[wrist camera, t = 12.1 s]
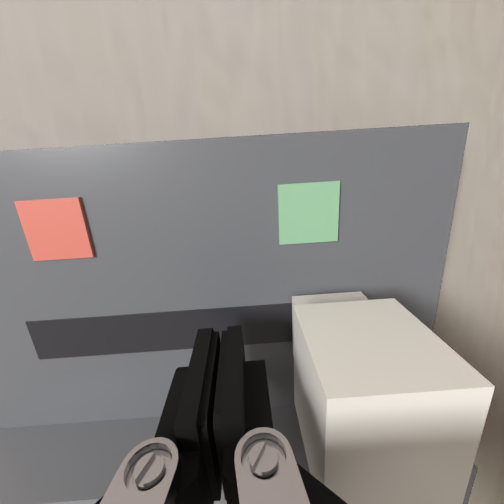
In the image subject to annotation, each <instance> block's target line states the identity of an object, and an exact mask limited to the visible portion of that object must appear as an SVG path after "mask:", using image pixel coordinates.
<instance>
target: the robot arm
mask: <svg viewBox="0 0 504 504" xmlns="http://www.w3.org/2000/svg"><path fill="white" fill-rule="evenodd" d="M222 485H223V491H224V497H225V500H227V504H347V503H346V502H345V501H344V500H342V499H341V498H340V497H339V496H337V495H336V494H335V493H334V492H332V491H331V490H330V489H329V488H327V487H326V486H325V485H324V484H322V483H321V482H320V481H319V480H318V479H316V478H315V477H314V476H313V475H311V474H310V473H309V472H308V471H306V470H305V469H304V468H303V467H301V466H300V465H299V464H298V463H296V460H295V457H294V454H293V451H292V448H291V446H290V444H289V442H288V440H287V438H286V437H285V436H284V435H283V434H282V433H280V432H279V431H277V430H275V429H273V422H272V414H271V406H270V398H269V390H268V382H267V374H266V366H265V359H264V360H253V361H245V351H244V341H243V331H242V325H237V326H228V327H227V330H225V331H222V336H221V342H220V334H219V331H214V329H213V328H203V329H198V331H197V335H196V339H195V343H194V347H193V351H192V355H191V359H190V363H189V366H187V367H178V368H177V369H176V371H175V373H174V376H173V379H172V383H171V386H170V389H169V392H168V395H167V399H166V402H165V405H164V408H163V411H162V415H161V418H160V421H159V424H158V427H157V430H156V434H155V437H154V438H151V439H148V440H145V441H143V442H142V443H140V444H139V445H137V446H136V447H134V448H133V449H132V450H131V451H130V452H129V453H128V454H127V456H126V457H125V459H124V460H123V462H122V463H121V465H120V467H119V468H118V470H117V472H116V474H115V476H114V478H113V480H112V482H111V483H110V485H109V487H108V489H107V491H106V493H105V495H104V496H103V497H102V498H100V499H99V500H98V501H97V502H96V503H95V504H214V501H220V500H221V490H222Z"/></svg>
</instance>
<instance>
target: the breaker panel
mask: <svg viewBox="0 0 504 504" xmlns="http://www.w3.org/2000/svg"><path fill="white" fill-rule="evenodd" d="M468 127H469V122H468V123H452V124H435V125H419V126H402V127H386V128H369V129H353V130H337V131H320V132H304V133H287V134H271V135H254V136H238V137H221V138H205V139H188V140H172V141H155V142H139V143H123V144H106V145H90V146H73V147H57V148H40V149H24V150H7V151H0V504H95V503H96V502H97V501H98V500H99V499H100V498H102V497H103V496H104V495H105V493H106V491H107V489H108V487H109V485H110V483H111V482H112V480H113V478H114V476H115V474H116V472H117V470H118V468H119V467H120V465H121V463H122V462H123V460H124V459H125V457H126V456H127V454H128V453H129V452H130V451H131V450H132V449H133V448H134V447H136V446H137V445H139V444H140V443H142V442H143V441H145V440H148V439H151V438H154V437H155V434H156V430H157V427H158V424H159V421H160V418H161V415H162V411H163V408H164V405H165V402H166V399H167V395H168V392H169V389H170V386H171V383H172V379H173V376H174V373H175V371H176V369H177V368H178V367H187V366H189V363H190V359H191V355H192V351H193V347H194V343H195V339H196V335H197V331H198V329H203V328H213V329H214V331H219V334H220V342H221V336H222V331H225V330H227V327H228V326H237V325H242V331H243V341H244V351H245V361H253V360H264V359H265V366H266V374H267V382H268V390H269V398H270V406H271V414H272V422H273V429H275V430H277V431H279V432H280V433H282V434H283V435H284V436H285V437H286V438H287V440H288V442H289V444H290V446H291V448H292V451H293V454H294V457H295V460H296V463H298V464H299V465H300V466H301V467H303V468H304V469H305V470H306V471H308V472H309V473H310V471H309V466H308V462H307V457H306V453H305V448H304V444H303V439H302V435H301V430H300V425H299V421H298V416H297V412H296V407H295V403H294V357H293V337H292V296H301V295H316V294H330V293H344V292H359V291H361V292H362V293H363V294H364V295H365V296H366V297H367V298H368V300H375V299H389V298H395V299H396V300H397V301H398V302H399V303H400V304H401V305H403V306H404V307H405V308H406V309H407V310H408V311H409V312H411V313H412V314H413V315H414V316H415V317H416V318H417V319H419V320H420V321H421V322H422V323H423V324H424V325H425V326H427V327H428V328H429V329H430V330H431V331H432V332H433V328H434V323H435V317H436V311H437V305H438V300H439V294H440V288H441V282H442V277H443V271H444V265H445V259H446V254H447V248H448V242H449V236H450V231H451V225H452V219H453V213H454V208H455V202H456V196H457V190H458V185H459V179H460V173H461V167H462V162H463V156H464V150H465V144H466V139H467V133H468ZM476 473H477V468H476V466H475V465H474V464H473V468H472V471H471V475H470V479H469V482H468V486H467V489H466V493H465V497H464V500H463V504H468V501H469V497H470V494H471V490H472V487H473V483H474V480H475V476H476ZM214 504H227V500H225V497H224V491H223V485H222V490H221V500H220V501H214Z"/></svg>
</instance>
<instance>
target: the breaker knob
mask: <svg viewBox="0 0 504 504" xmlns="http://www.w3.org/2000/svg"><path fill="white" fill-rule="evenodd" d="M292 337H293V357H294V403H295V407H296V412H297V416H298V421H299V425H300V430H301V435H302V439H303V444H304V448H305V453H306V457H307V462H308V466H309V471H310V474H311V475H313V476H314V477H315V478H316V479H318V480H319V481H320V482H321V483H322V484H324V485H325V486H326V487H327V488H329V489H330V490H331V491H332V492H334V493H335V494H336V495H337V496H339V497H340V498H341V499H342V500H344V501H345V502H346V503H347V504H463V500H464V497H465V493H466V489H467V486H468V482H469V479H470V475H471V471H472V468H473V464H474V461H475V457H476V453H477V450H478V446H479V443H480V439H481V435H482V432H483V428H484V425H485V421H486V417H487V414H488V410H489V407H490V403H491V399H492V396H493V392H494V389H495V386H494V385H493V384H492V383H490V382H489V381H488V380H487V379H486V378H485V377H484V376H482V375H481V374H480V373H479V372H478V371H477V370H476V369H474V368H473V367H472V366H471V365H470V364H469V363H468V362H466V361H465V360H464V359H463V358H462V357H461V356H460V355H458V354H457V353H456V352H455V351H454V350H453V349H452V348H450V347H449V346H448V345H447V344H446V343H445V342H444V341H442V340H441V339H440V338H439V337H438V336H437V335H436V334H435V333H433V332H432V331H431V330H430V329H429V328H428V327H427V326H425V325H424V324H423V323H422V322H421V321H420V320H419V319H417V318H416V317H415V316H414V315H413V314H412V313H411V312H409V311H408V310H407V309H406V308H405V307H404V306H403V305H401V304H400V303H399V302H398V301H397V300H396V299H395V298H389V299H375V300H368V298H367V297H366V296H365V295H364V294H363V293H362V292H361V291H359V292H344V293H330V294H316V295H301V296H292Z"/></svg>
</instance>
